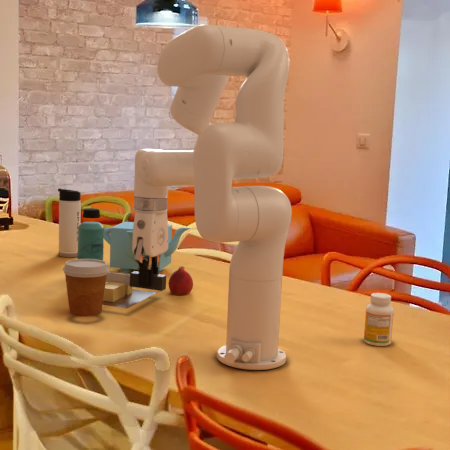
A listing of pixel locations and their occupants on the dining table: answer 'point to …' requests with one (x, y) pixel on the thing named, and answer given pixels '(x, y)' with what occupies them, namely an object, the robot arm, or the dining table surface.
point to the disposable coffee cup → (85, 285)
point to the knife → (133, 278)
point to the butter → (114, 291)
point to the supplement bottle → (379, 320)
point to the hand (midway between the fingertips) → (148, 284)
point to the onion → (180, 282)
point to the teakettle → (122, 246)
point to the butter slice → (128, 289)
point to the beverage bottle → (90, 236)
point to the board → (130, 299)
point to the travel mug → (69, 222)
